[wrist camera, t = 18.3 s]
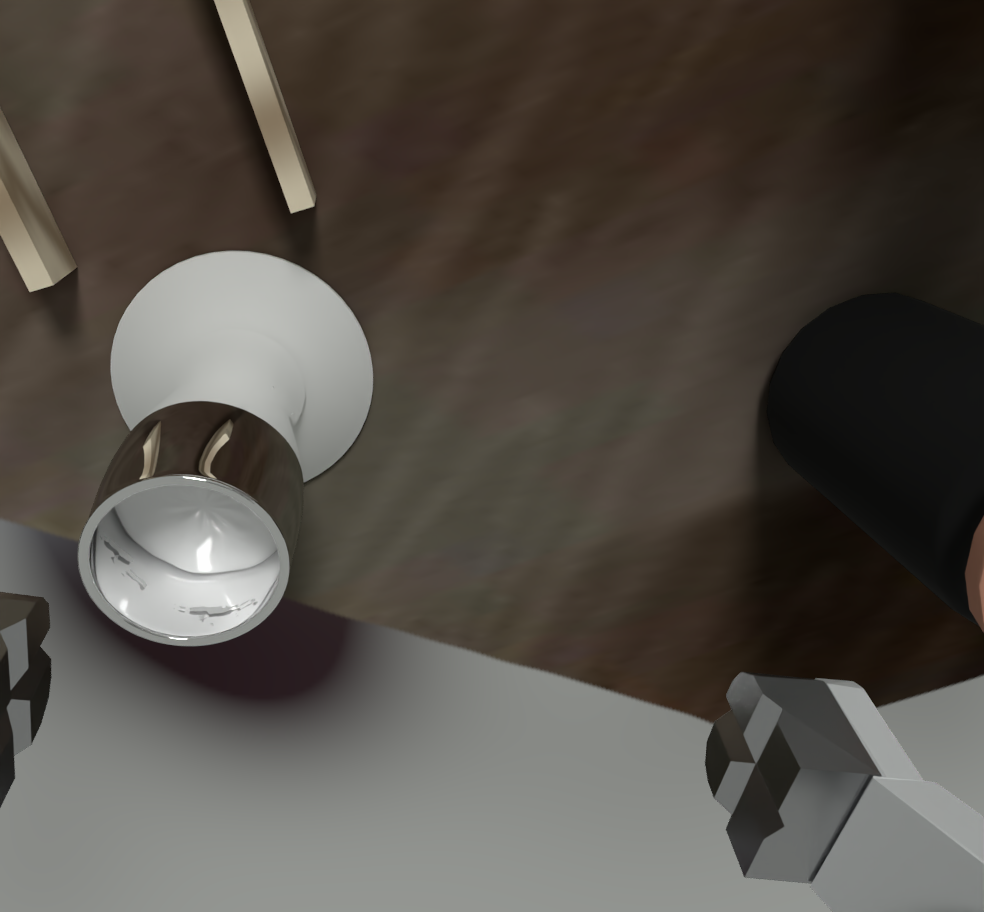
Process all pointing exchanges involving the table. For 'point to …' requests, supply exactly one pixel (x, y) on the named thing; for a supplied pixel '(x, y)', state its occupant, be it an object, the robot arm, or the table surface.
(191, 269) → the grey coaster
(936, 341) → the coffee jar
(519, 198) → the table surface
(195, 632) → the heart stem goblet
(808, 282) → the table surface
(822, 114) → the table surface
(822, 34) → the table surface
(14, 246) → the maple lane
